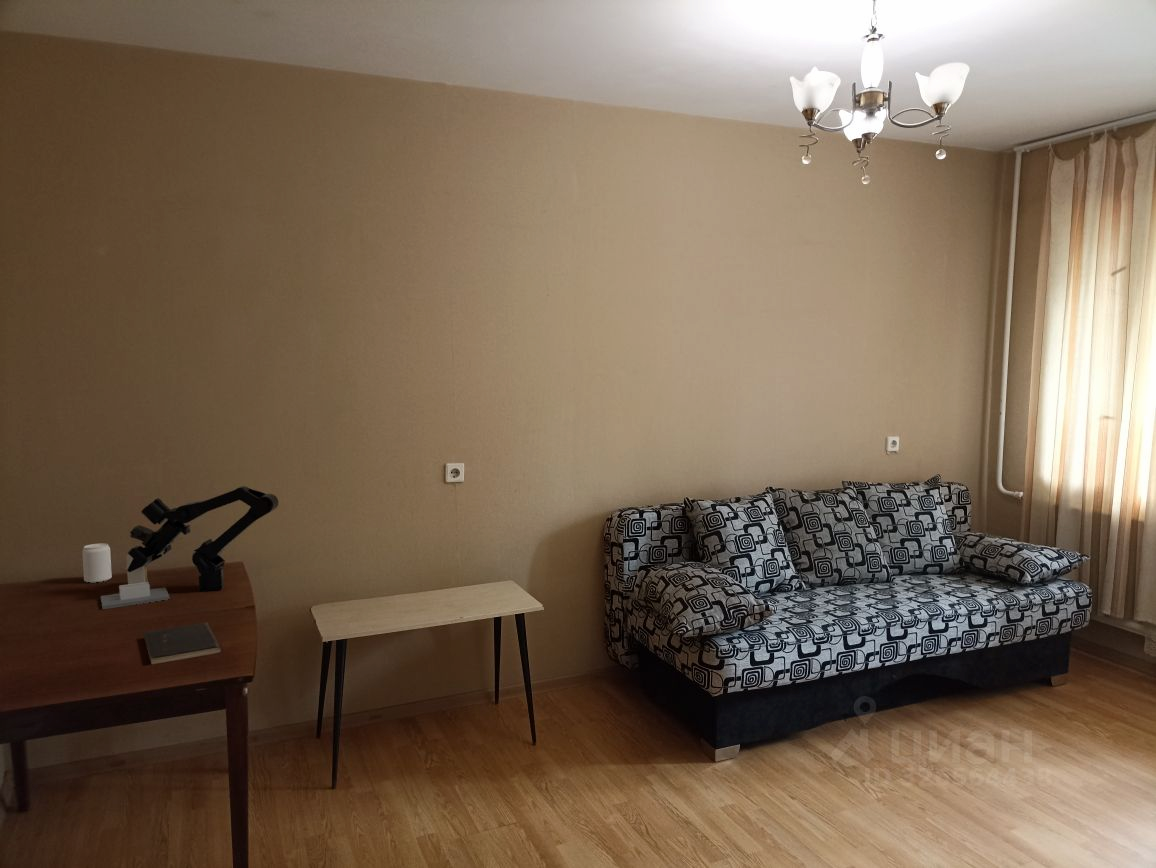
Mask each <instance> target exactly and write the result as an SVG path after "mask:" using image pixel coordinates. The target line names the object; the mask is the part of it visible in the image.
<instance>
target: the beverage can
mask: <svg viewBox="0 0 1156 868" xmlns="http://www.w3.org/2000/svg"><path fill="white" fill-rule="evenodd" d="M81 553H82V567H83V568H82V569H83V581H84V582H86V583H88V582H90V583H89V584H97V583H96V582H99V583H103V581H104V582H107V581H108V580H111V578H112V576H113V574H112V562H111V560H112V558H111V557H112V556H111V546H109V543H102V542H101V543H93V544H86V545H84V546H83V549H82V552H81Z"/></svg>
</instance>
